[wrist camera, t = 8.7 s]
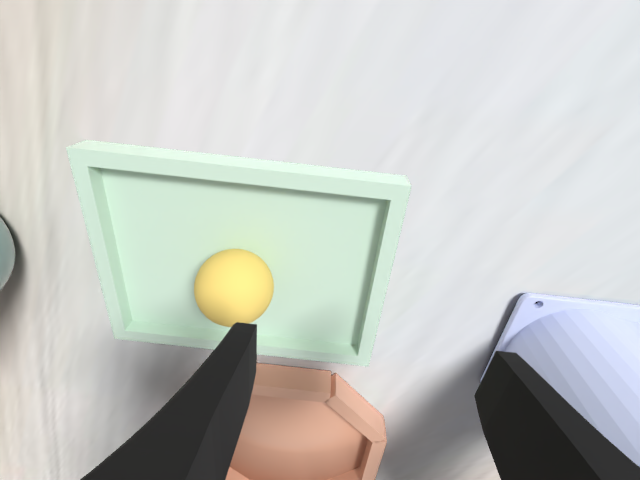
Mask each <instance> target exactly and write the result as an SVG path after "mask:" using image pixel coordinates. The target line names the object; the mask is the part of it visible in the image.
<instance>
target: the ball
mask: <svg viewBox="0 0 640 480" xmlns="http://www.w3.org/2000/svg"><path fill="white" fill-rule="evenodd" d="M273 292H274V281H273V277H272V273H271V271H270V269H269V267H268V266H267V264H266V263H265V262H264V261H263V260H262V259H261V258H260V257H259V256H257V255H256V254H254V253H252V252H250V251H247V250H243V249H227V250H223V251H220V252H218V253H216V254H214V255H212V256H211V257H210V258H209V259H207V260H206V261H205V262H204V263H203V265H202V266H201V267H200V269H199V271H198V273H197V275H196V278H195V282H194V296H195V300H196V303H197V305H198V307H199V309H200V311H201V312H202V313H203V314H204V315H205V316H206V317H207V318H208V319H209V320H211V321H212V322H214V323H216V324H218V325H221V326H226V327H232V326H233V324H235V323H236V322H240V323H252V322H253V321H255V320H256V319H258V318H259V317H260V316H261V315H262V314H263V313H264V312H265V311H266V310H267V308H268V306H269V305H270V302H271V300H272V297H273Z"/></svg>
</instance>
